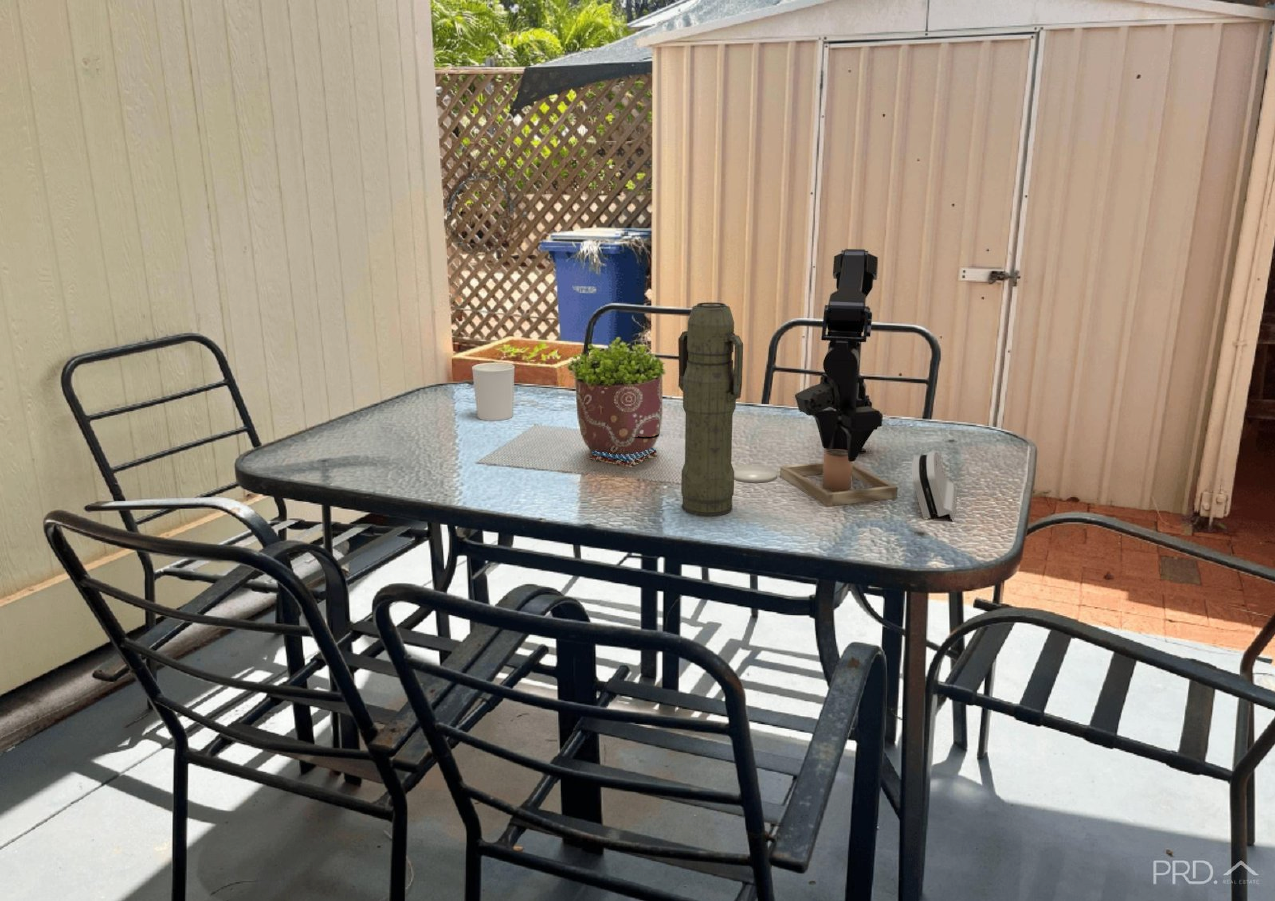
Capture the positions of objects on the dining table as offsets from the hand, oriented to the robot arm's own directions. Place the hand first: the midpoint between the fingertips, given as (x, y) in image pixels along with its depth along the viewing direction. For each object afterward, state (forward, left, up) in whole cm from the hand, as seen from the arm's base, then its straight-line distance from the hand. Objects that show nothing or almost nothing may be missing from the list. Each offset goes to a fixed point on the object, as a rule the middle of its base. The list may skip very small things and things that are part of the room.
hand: (838, 454), depth 181 cm
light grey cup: (+49, -73, -6) cm, 88 cm away
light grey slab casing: (-11, +14, -7) cm, 19 cm away
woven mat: (+31, -31, -7) cm, 44 cm away
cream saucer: (+12, -11, -6) cm, 17 cm away
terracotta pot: (0, 0, -6) cm, 6 cm away
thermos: (+27, +3, -6) cm, 28 cm away
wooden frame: (0, 0, -6) cm, 6 cm away
